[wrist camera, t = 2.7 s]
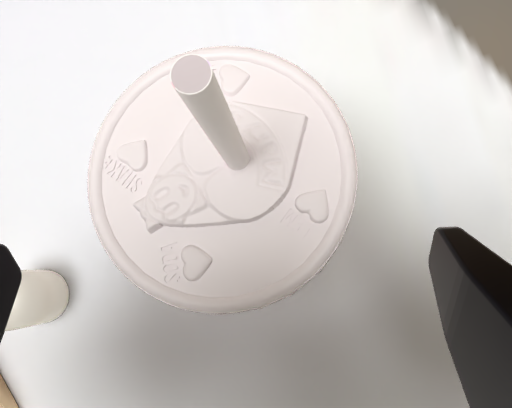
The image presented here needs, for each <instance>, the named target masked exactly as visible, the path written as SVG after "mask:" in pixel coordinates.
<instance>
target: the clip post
mask: <svg viewBox="0 0 512 408" xmlns="http://www.w3.org/2000/svg"><path fill="white" fill-rule="evenodd" d="M21 273H22V280H21V284H20V287H19V290H18V293H17V296H16V299H15V302H14V305H13V308H12V311H11V314H10V317H9V320H8V323H7V326H6V329H5V331H11V330H16V329H20V328H25V327H30V326H34V325H39V324H44V323H48V322H51V321H54V320H55V319H57V318H58V317H59V316H60V315H61V314H62V313H63V312H64V310H65V309H66V307H67V304H68V301H69V289H68V285H67V283H66V281H65V280H64V278H63V277H62V276H61V275H60V274H58V273H56V272H54V271H51V270H21Z"/></svg>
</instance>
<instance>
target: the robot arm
mask: <svg viewBox="0 0 512 408" xmlns="http://www.w3.org/2000/svg"><path fill="white" fill-rule="evenodd" d="M429 269H430V274H431V278H432V283H433V287H434V292H435V296H436V300H437V305H438V309H439V313H440V318H441V322H442V327H443V331H444V335H445V338H446V341H447V344H448V348H449V350H450V353H451V356H452V359H453V362H454V364H455V367H456V370H457V373H458V376H459V378H460V381H461V384H462V387H463V389H464V392H465V395H466V398H467V401H468V403H469V406H470V408H512V265H511V264H509V263H508V262H506V261H505V260H504V259H502V258H501V257H500V256H498V255H497V254H495V253H494V252H493V251H491V250H490V249H489V248H487V247H486V246H485V245H483V244H482V243H480V242H479V241H478V240H476V239H475V238H474V237H472V236H471V235H469V234H468V233H467V232H465V231H464V230H463V229H461V228H459V227H439V228H437V229H436V230H435V232H434V236H433V241H432V245H431V250H430V255H429ZM21 280H22V273H21V270H20V268H19V266H18V264H17V263H16V261H15V259H14V258H13V256H12V254H11V253H10V251H9V249H8V248H7V247H6V246H5V245H3V244H0V343H1V340H2V337H3V334H4V332H5V329H6V326H7V323H8V320H9V317H10V314H11V311H12V308H13V305H14V302H15V299H16V296H17V293H18V290H19V287H20V284H21Z"/></svg>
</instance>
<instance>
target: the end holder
mask: <svg viewBox="0 0 512 408" xmlns="http://www.w3.org/2000/svg"><path fill="white" fill-rule="evenodd" d="M0 408H19V407H18V405H17V403H16V402H15V400H14V398H13V396H12V394H11V393H10V391H9V389H8V387H7V385H6V383H5V382H4V380H3V378H2V376H1V374H0Z"/></svg>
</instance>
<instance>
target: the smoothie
mask: <svg viewBox="0 0 512 408" xmlns="http://www.w3.org/2000/svg"><path fill="white" fill-rule="evenodd" d="M357 179H358V173H357V159H356V152H355V147H354V143H353V139H352V136H351V133H350V130H349V128H348V125H347V123H346V121H345V119H344V116H343V114H342V112H341V111H340V109H339V108H338V106H337V104H336V103H335V101H334V100H333V99H332V97H331V96H330V95H329V93H328V92H327V91H326V90H325V89H324V88H323V87H322V86H321V85H320V83H319V82H318V81H316V80H315V79H314V78H313V77H312V76H311V75H309V74H308V73H307V72H305V71H304V70H303V69H301V68H300V67H298V66H297V65H295V64H293V63H291V62H290V61H288V60H286V59H284V58H281V57H279V56H277V55H274V54H271V53H268V52H265V51H262V50H257V49H253V48H247V47H240V46H215V47H207V48H200V49H196V50H192V51H188V52H185V53H182V54H179V55H176V56H174V57H172V58H170V59H168V60H165V61H163V62H162V63H160V64H158V65H156V66H154V67H153V68H151V69H150V70H148V71H147V72H146V73H144V74H143V75H141V76H140V77H139V78H138V79H137V80H135V81H134V82H133V83H132V84H131V85H130V86H129V87H128V88H127V89H126V90H125V91H124V92H123V93H122V94H121V96H120V97H119V98H118V99H117V100H116V102H115V103H114V105H113V106H112V107H111V109H110V110H109V112H108V114H107V115H106V117H105V119H104V120H103V122H102V124H101V127H100V129H99V131H98V133H97V136H96V139H95V141H94V144H93V148H92V152H91V156H90V161H89V167H88V179H87V190H88V202H89V209H90V213H91V217H92V221H93V224H94V227H95V230H96V233H97V235H98V237H99V240H100V242H101V244H102V246H103V248H104V249H105V251H106V253H107V254H108V256H109V257H110V259H111V260H112V261H113V263H114V264H115V266H116V267H117V268H118V269H119V270H120V271H121V272H122V273H123V275H124V276H125V277H126V278H128V279H129V280H130V281H131V282H132V283H133V284H134V285H135V286H137V287H138V288H140V289H141V290H142V291H144V292H145V293H147V294H148V295H150V296H152V297H154V298H155V299H157V300H159V301H161V302H164V303H166V304H168V305H170V306H174V307H177V308H180V309H183V310H187V311H192V312H197V313H206V314H229V313H239V312H244V311H249V310H255V309H261V308H263V307H265V306H268V305H270V304H272V303H274V302H277V301H279V300H281V299H283V298H286V297H288V296H290V295H292V294H294V293H295V292H296V291H297V290H299V289H300V288H301V287H302V286H304V285H305V284H306V283H307V282H308V281H310V280H311V279H312V278H313V277H315V276H316V275H317V274H318V273H319V272H321V270H322V269H323V267H324V266H325V265H326V263H327V262H328V260H329V259H330V258H331V256H332V255H333V253H334V252H335V250H336V249H337V248H338V246H339V245H340V243H341V241H342V239H343V236H344V233H345V231H346V229H347V226H348V224H349V221H350V219H351V215H352V212H353V208H354V204H355V199H356V192H357Z"/></svg>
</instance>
